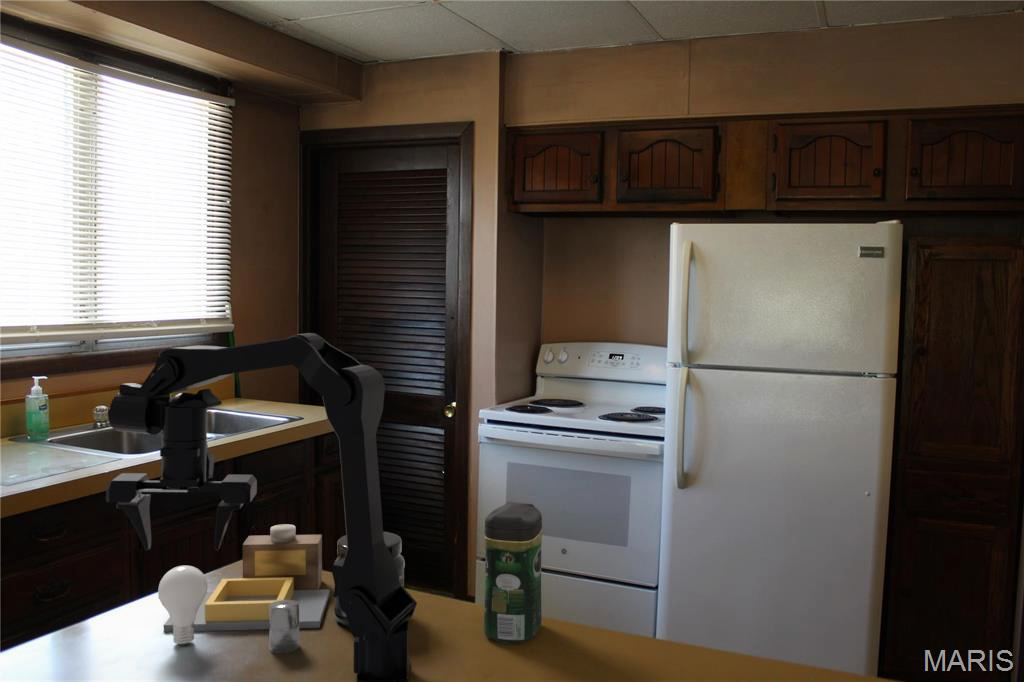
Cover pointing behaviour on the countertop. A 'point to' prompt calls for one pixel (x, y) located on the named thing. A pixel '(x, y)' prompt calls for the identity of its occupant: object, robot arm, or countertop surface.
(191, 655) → the countertop surface
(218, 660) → the countertop surface
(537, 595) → the coffee jar
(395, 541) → the supplement container
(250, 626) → the board
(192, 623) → the lightbulb
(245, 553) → the lamp unit
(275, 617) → the silver metal cylinder
